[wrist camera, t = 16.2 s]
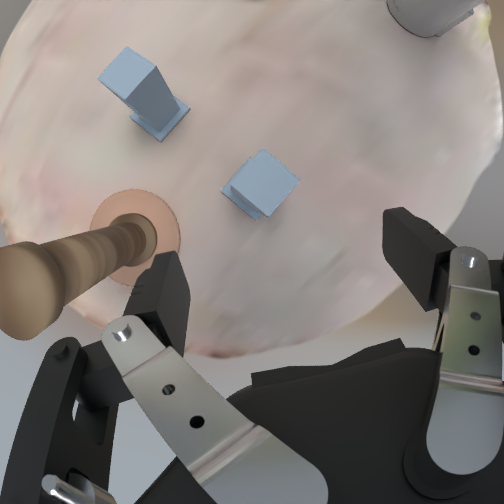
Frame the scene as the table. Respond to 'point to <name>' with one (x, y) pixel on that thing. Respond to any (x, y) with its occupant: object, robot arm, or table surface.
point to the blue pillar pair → (172, 111)
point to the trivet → (149, 208)
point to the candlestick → (65, 271)
